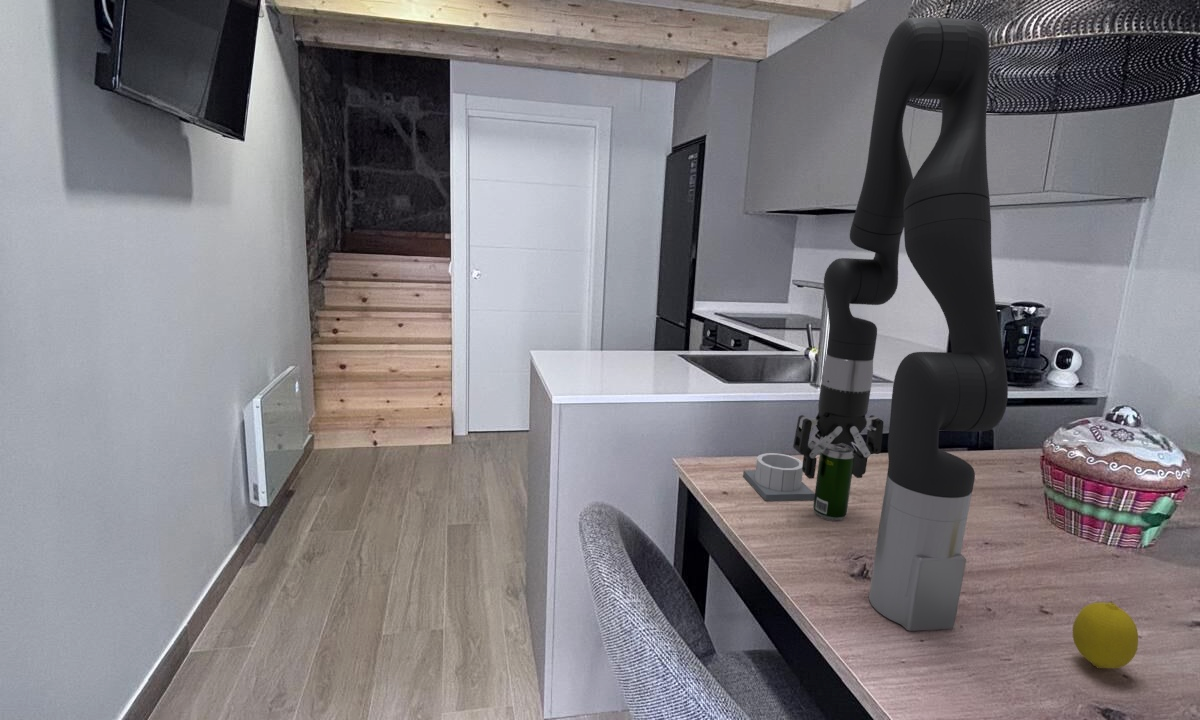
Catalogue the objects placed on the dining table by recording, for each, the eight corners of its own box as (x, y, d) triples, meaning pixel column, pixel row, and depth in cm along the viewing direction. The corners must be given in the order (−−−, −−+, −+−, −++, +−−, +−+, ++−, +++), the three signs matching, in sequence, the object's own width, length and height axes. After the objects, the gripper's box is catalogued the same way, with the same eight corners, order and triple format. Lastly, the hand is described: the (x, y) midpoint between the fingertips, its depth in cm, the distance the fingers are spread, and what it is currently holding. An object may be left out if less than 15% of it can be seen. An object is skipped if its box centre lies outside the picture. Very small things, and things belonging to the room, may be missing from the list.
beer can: (837, 524, 100) (846, 455, 98) (806, 513, 104) (814, 446, 101) (851, 515, 104) (861, 448, 101) (821, 504, 107) (830, 439, 105)
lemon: (1058, 646, 72) (1072, 585, 70) (1113, 657, 70) (1129, 594, 69) (1079, 677, 67) (1094, 612, 65) (1139, 690, 65) (1157, 624, 64)
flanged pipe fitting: (814, 500, 109) (817, 472, 108) (765, 501, 108) (768, 473, 107) (788, 475, 120) (790, 450, 119) (743, 476, 118) (745, 450, 117)
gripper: (815, 389, 94) (803, 486, 98) (900, 390, 96) (885, 485, 100) (794, 377, 102) (783, 468, 105) (873, 377, 104) (860, 467, 107)
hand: (833, 476), depth 103 cm, fingers open, 8 cm apart
